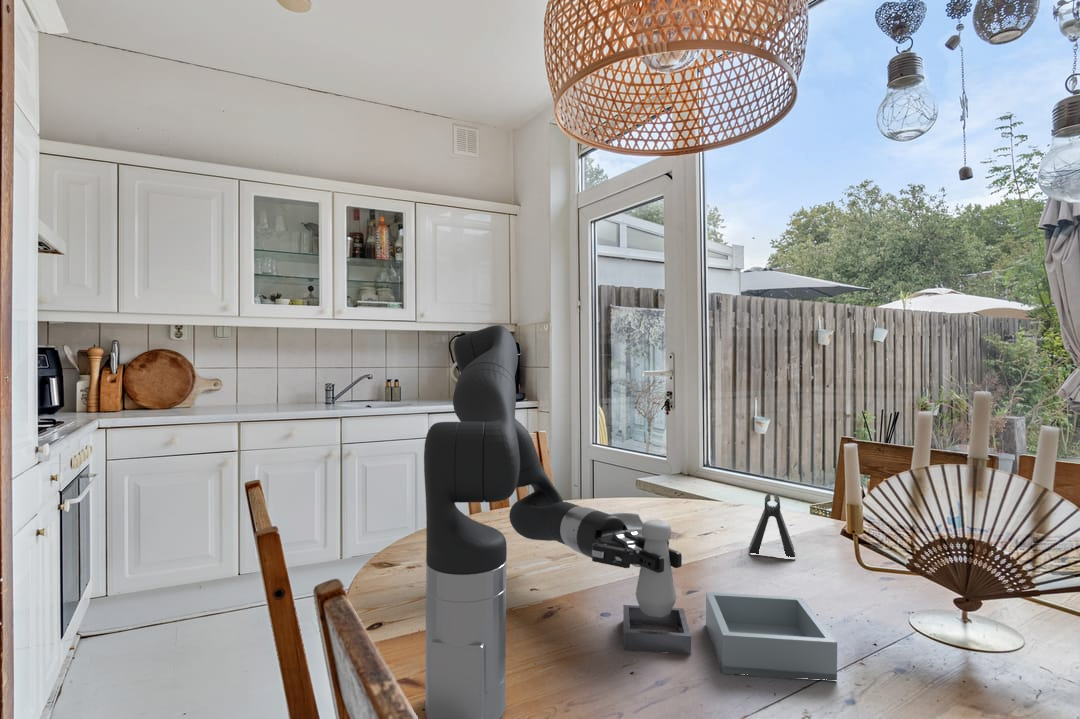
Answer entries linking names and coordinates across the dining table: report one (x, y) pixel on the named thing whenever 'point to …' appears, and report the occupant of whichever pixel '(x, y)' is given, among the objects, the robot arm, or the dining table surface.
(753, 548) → the black a-shaped piece
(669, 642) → the dark grey square tray
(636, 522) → the dish
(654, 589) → the salt shaker
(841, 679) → the dining table surface
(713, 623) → the bin
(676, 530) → the dining table surface
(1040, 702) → the dining table surface
